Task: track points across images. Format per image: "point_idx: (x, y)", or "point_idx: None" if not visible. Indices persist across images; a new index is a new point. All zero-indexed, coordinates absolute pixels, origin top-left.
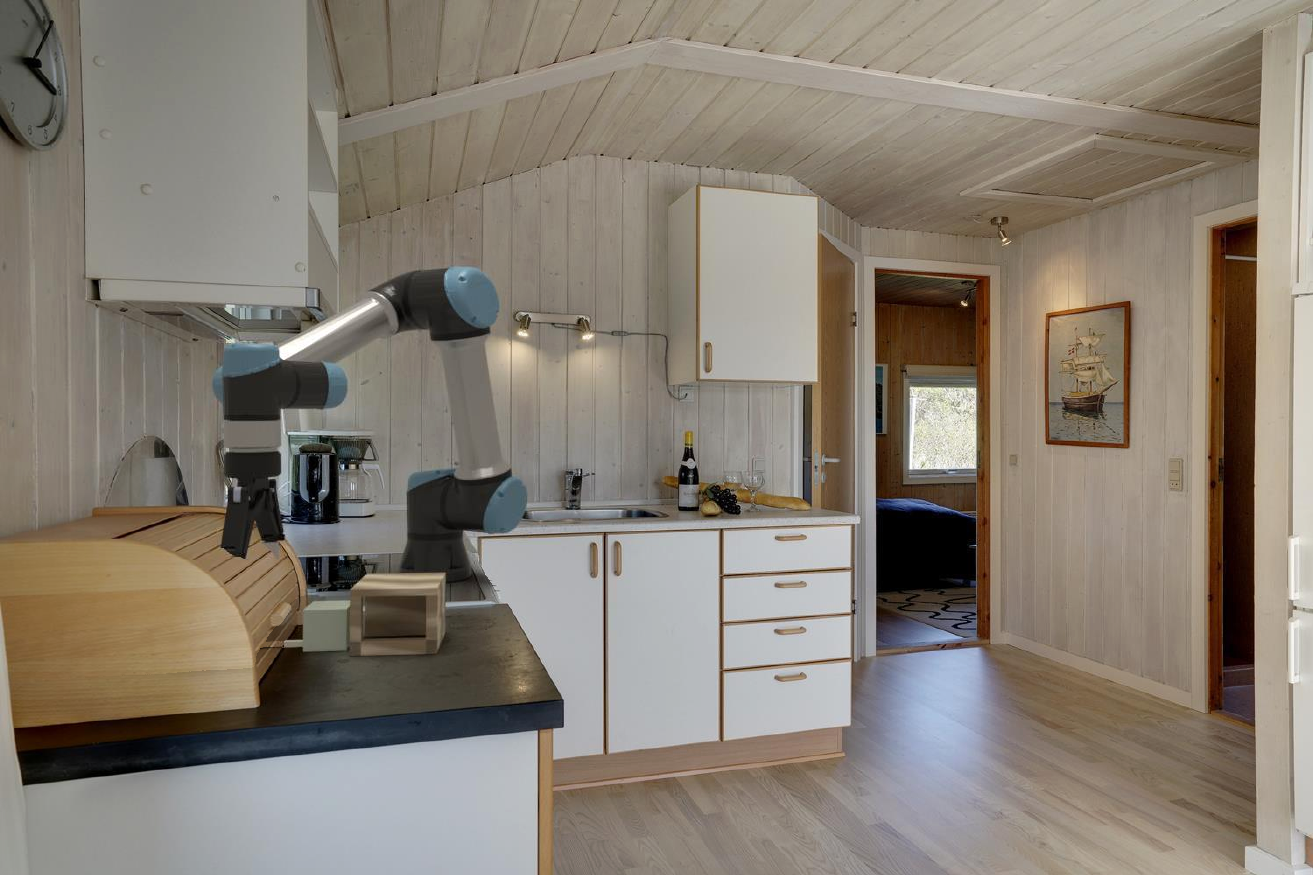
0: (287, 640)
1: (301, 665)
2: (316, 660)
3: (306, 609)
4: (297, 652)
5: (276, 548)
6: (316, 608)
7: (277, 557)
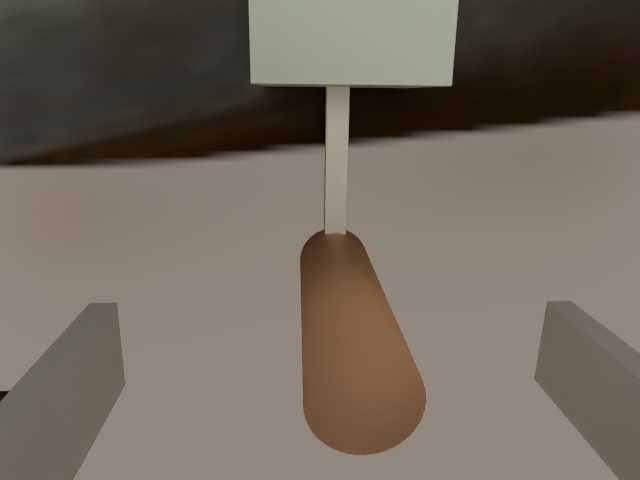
0: (329, 162)
1: (556, 55)
2: (509, 17)
3: (438, 73)
4: (397, 108)
5: (17, 435)
6: (424, 27)
7: (54, 385)
